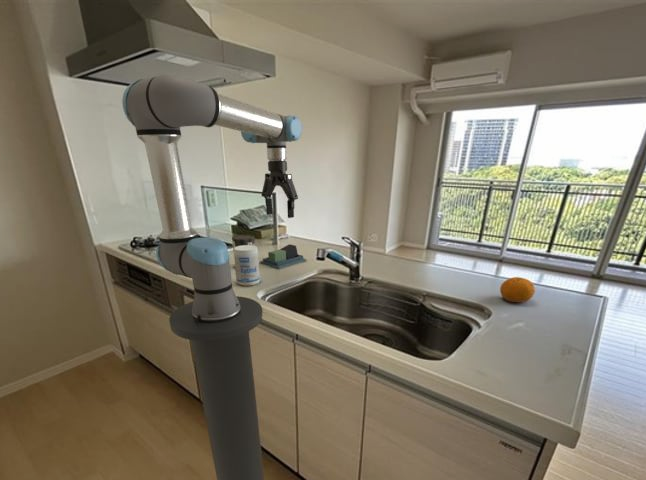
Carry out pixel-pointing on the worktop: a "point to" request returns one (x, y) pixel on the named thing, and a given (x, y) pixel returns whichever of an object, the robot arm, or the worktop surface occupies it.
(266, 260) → the blue tray
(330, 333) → the worktop surface
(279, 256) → the sage pad
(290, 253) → the charcoal block
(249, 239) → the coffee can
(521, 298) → the fruit
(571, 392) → the worktop surface
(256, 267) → the supplement tub
